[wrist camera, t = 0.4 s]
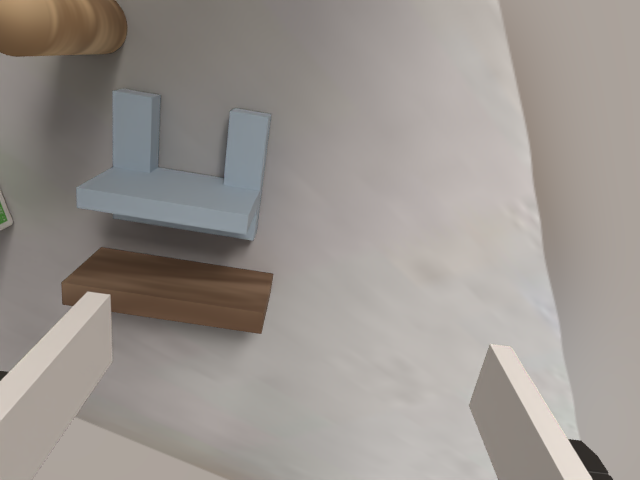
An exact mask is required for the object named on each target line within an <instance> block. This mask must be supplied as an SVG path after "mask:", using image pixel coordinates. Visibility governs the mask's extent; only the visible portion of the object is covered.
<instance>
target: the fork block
mask: <svg viewBox="0 0 640 480" xmlns="http://www.w3.org/2000/svg"><path fill="white" fill-rule="evenodd" d="M160 99H161V95H157V94H152V93H146V92H140V91H134V90H129V89H119V90H114V91H113V167H112V168H110V169H108V170H107V171H105V172H103V173H101V174H99V175H98V176H96V177H94V178H92V179H90V180H89V181H87V182H85V183H83V184H82V185H80V186H78V187H76V196H77V208H82V209H88V210H94V211H100V212H107V213H113V219H120V220H126V221H132V222H139V223H145V224H151V225H157V226H164V227H170V228H176V229H183V230H189V231H195V232H202V233H208V234H214V235H221V236H227V237H233V238H240V239H246V240H252V241H254V238H255V235H256V233H257V226H258V218H259V210H260V202H261V194H262V186H263V178H264V170H265V161H266V153H267V145H268V137H269V129H270V121H271V114H268V113H262V112H256V111H250V110H244V109H239V108H234V109H232V110H231V111H230V117H229V128H228V139H227V150H226V161H225V172H224V178H220V177H214V176H208V175H202V174H196V173H190V172H184V171H178V170H172V169H166V168H160V167H158V156H159V128H160Z"/></svg>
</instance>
